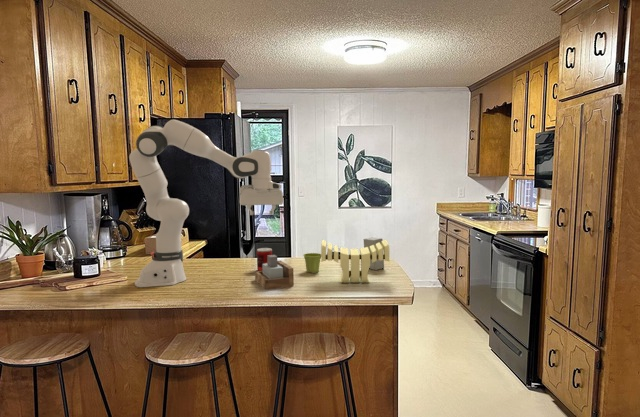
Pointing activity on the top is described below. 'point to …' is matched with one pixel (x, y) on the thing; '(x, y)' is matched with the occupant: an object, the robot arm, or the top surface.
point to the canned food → (262, 257)
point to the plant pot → (312, 262)
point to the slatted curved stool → (355, 260)
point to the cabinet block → (272, 268)
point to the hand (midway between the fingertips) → (261, 214)
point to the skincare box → (373, 241)
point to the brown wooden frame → (278, 282)
